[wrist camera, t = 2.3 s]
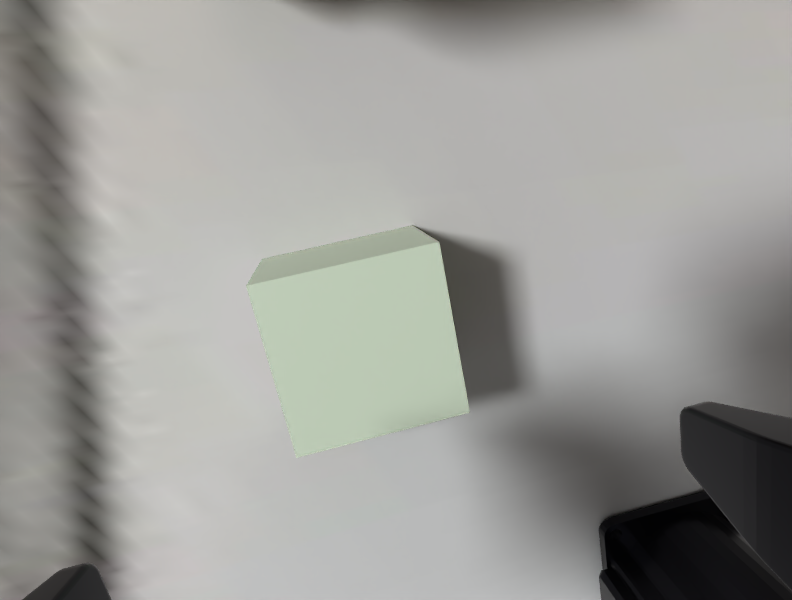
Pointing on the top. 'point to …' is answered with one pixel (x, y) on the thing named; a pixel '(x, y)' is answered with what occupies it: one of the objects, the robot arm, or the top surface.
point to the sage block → (359, 338)
